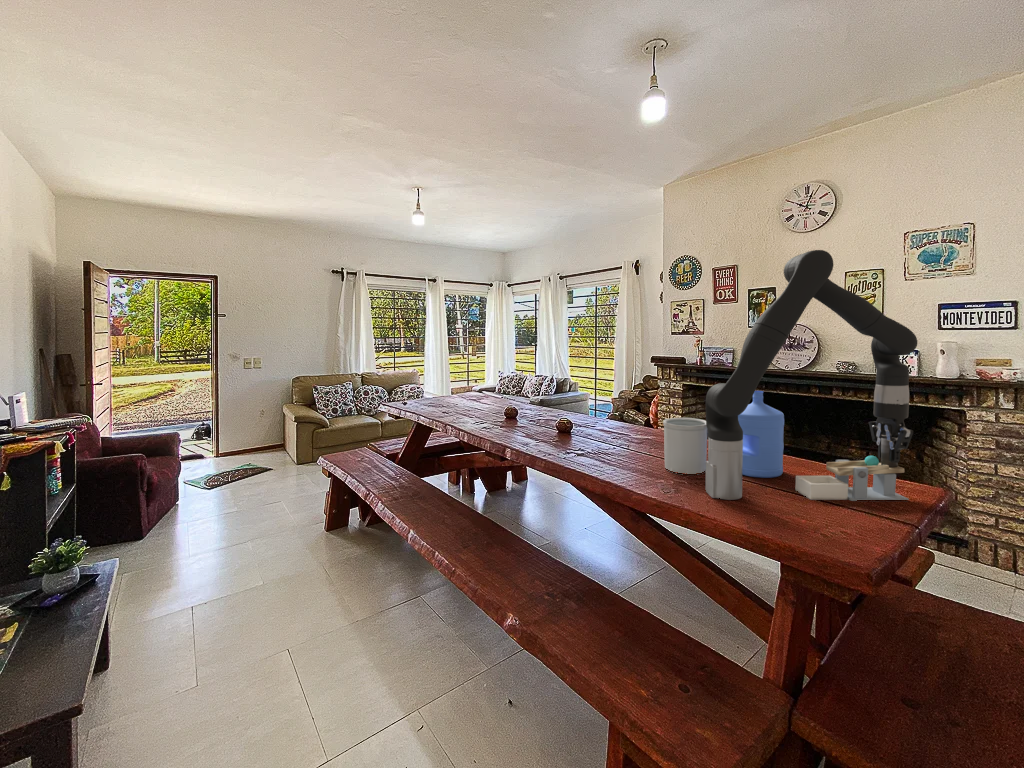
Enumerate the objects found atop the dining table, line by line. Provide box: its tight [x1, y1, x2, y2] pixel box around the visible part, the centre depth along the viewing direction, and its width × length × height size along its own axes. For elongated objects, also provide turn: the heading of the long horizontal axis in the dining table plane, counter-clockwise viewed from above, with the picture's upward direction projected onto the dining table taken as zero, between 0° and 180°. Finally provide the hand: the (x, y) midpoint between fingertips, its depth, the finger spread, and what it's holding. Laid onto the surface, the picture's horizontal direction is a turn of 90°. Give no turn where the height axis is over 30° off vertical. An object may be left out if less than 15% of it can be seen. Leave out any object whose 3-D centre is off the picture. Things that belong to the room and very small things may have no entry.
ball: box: [864, 455, 880, 466], centre depth 126 cm, size 3×3×3 cm
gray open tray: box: [795, 475, 849, 501], centre depth 128 cm, size 10×8×4 cm
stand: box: [834, 459, 910, 502], centre depth 127 cm, size 15×10×9 cm, turn 84°
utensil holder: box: [662, 417, 708, 474], centre depth 157 cm, size 15×15×18 cm
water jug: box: [738, 390, 785, 479], centre depth 151 cm, size 16×16×28 cm
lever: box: [825, 437, 905, 476], centre depth 126 cm, size 17×6×9 cm, turn 84°
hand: (888, 459), depth 126 cm, fingers closed on lever, 3 cm apart
